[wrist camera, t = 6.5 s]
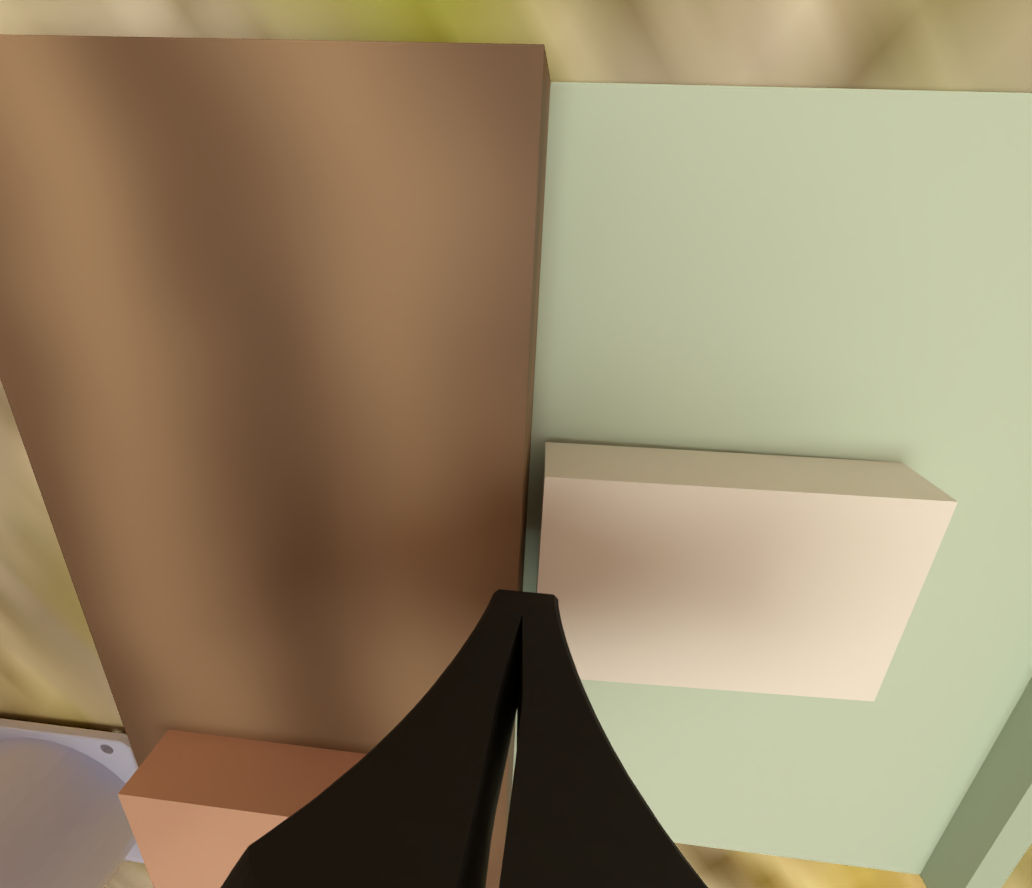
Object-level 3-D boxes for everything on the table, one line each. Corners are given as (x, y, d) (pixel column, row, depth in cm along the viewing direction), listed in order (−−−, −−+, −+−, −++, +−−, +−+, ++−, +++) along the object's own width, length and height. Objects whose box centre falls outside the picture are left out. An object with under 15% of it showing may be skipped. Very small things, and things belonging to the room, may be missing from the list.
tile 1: (205, 849, 19) (166, 918, 17) (168, 729, 16) (117, 793, 15) (458, 885, 18) (445, 960, 16) (457, 765, 16) (442, 837, 14)
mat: (511, 810, 21) (505, 861, 19) (551, 86, 11) (547, 63, 10) (941, 866, 20) (975, 925, 18) (1388, 106, 10) (1545, 85, 9)
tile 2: (533, 623, 16) (531, 675, 14) (545, 442, 14) (544, 476, 12) (836, 645, 16) (874, 701, 14) (902, 462, 13) (958, 501, 12)
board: (219, 772, 22) (168, 852, 19) (33, 73, 12) (-123, 32, 10) (511, 810, 21) (501, 900, 18) (551, 86, 11) (544, 44, 9)
